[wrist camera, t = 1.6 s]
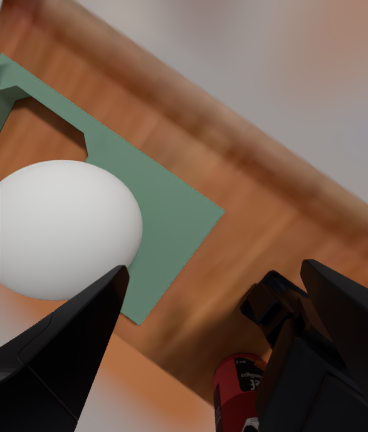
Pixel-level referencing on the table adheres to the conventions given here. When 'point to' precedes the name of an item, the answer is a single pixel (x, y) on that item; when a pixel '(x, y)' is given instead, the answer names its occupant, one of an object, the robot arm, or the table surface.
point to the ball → (64, 228)
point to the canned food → (237, 393)
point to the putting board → (140, 188)
